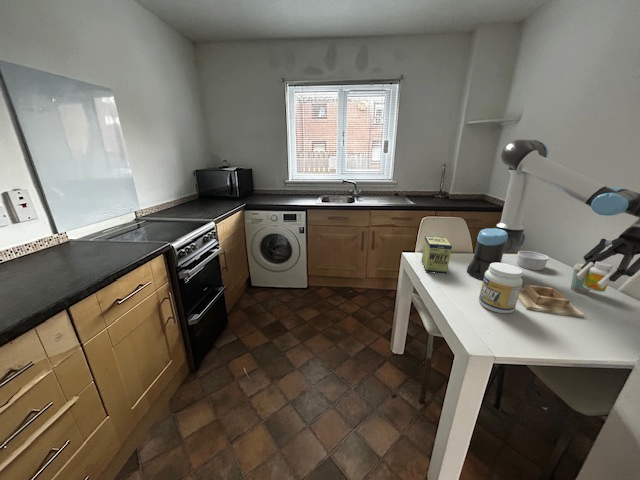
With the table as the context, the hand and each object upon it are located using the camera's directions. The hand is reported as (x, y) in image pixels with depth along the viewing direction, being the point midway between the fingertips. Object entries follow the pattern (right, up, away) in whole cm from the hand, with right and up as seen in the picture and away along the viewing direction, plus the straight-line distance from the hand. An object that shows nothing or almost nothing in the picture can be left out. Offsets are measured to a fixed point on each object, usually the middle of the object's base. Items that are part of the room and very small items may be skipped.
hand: (588, 281), depth 87 cm
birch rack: (0, -12, +17) cm, 21 cm away
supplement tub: (-22, -13, +15) cm, 29 cm away
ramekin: (+23, -1, +52) cm, 57 cm away
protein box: (-31, -1, +50) cm, 59 cm away
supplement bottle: (+4, -3, +2) cm, 5 cm away
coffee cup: (+25, -9, +27) cm, 38 cm away
